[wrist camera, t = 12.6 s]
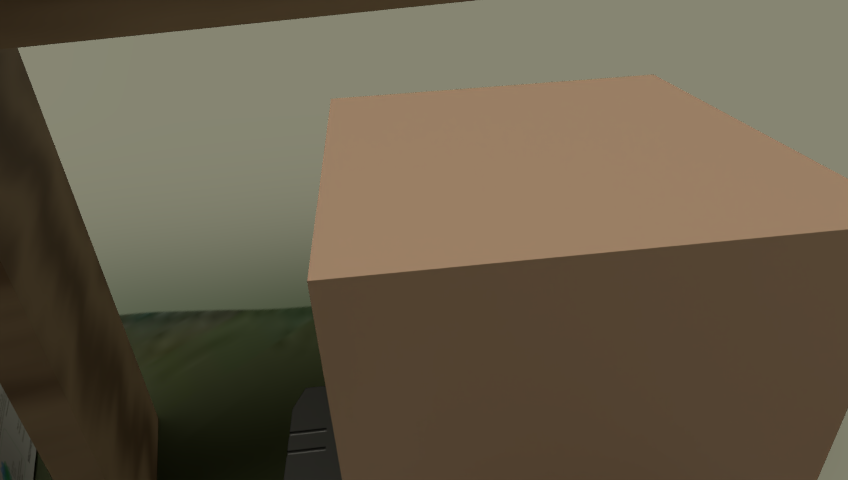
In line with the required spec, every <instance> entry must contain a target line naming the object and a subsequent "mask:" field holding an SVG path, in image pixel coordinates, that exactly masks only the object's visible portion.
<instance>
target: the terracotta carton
mask: <svg viewBox="0 0 848 480" xmlns="http://www.w3.org/2000/svg"><path fill="white" fill-rule="evenodd" d="M307 283H308V288H309V294H310V300H311V305H312V311H313V317H314V323H315V328H316V334H317V340H318V345H319V351H320V357H321V362H322V368H323V374H324V380H325V385H326V391H327V397H328V402H329V408H330V414H331V420H332V425H333V431H334V437H335V442H336V448H337V454H338V459H339V465H340V471H341V477H342V480H817V479H818V477H819V474H820V472H821V469H822V467H823V465H824V463H825V460H826V458H827V455H828V453H829V451H830V449H831V446H832V444H833V441H834V439H835V437H836V435H837V432H838V430H839V428H840V425H841V423H842V420H843V418H844V416H845V413H846V411H847V409H848V179H847V178H845V177H843V176H842V175H840V174H838V173H836V172H834V171H832V170H830V169H828V168H827V167H825V166H823V165H821V164H819V163H817V162H815V161H814V160H812V159H810V158H808V157H806V156H804V155H802V154H801V153H799V152H797V151H795V150H793V149H791V148H789V147H787V146H786V145H784V144H782V143H780V142H778V141H776V140H774V139H773V138H771V137H769V136H767V135H765V134H763V133H761V132H759V131H758V130H756V129H754V128H752V127H750V126H748V125H746V124H744V123H742V122H741V121H739V120H737V119H735V118H733V117H732V116H730V115H728V114H726V113H724V112H722V111H720V110H718V109H717V108H715V107H713V106H711V105H709V104H707V103H705V102H704V101H702V100H700V99H698V98H696V97H694V96H692V95H690V94H689V93H687V92H685V91H683V90H681V89H679V88H677V87H676V86H674V85H672V84H670V83H668V82H666V81H664V80H662V79H661V78H659V77H657V76H655V75H642V76H628V77H615V78H601V79H588V80H575V81H562V82H549V83H535V84H522V85H508V86H495V87H483V88H470V89H455V90H442V91H429V92H415V93H403V94H390V95H376V96H363V97H349V98H337V99H331V104H330V111H329V119H328V126H327V134H326V141H325V149H324V157H323V164H322V172H321V180H320V188H319V195H318V203H317V211H316V219H315V226H314V233H313V241H312V249H311V256H310V264H309V271H308V279H307Z"/></svg>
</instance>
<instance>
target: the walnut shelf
mask: <svg viewBox="0 0 848 480" xmlns="http://www.w3.org/2000/svg"><path fill="white" fill-rule="evenodd" d="M464 1H474V0H0V384H1V386H2V388H3V389H4V391H5V393H6V395H7V397H8V399H9V400H10V402H11V404H12V406H13V408H14V409H15V411H16V413H17V415H18V417H19V419H20V420H21V422H22V424H23V426H24V428H25V430H26V431H27V433H28V435H29V437H30V439H31V440H32V442H33V444H34V446H35V448H36V450H37V451H38V453H39V455H40V457H41V459H42V461H43V462H44V464H45V466H46V468H47V470H48V472H49V473H50V475H51V477H52V479H53V480H157V454H158V416H157V414H156V411H155V408H154V406H153V403H152V400H151V398H150V395H149V393H148V390H147V387H146V385H145V382H144V379H143V377H142V374H141V371H140V369H139V366H138V364H137V361H136V358H135V356H134V353H133V350H132V348H131V345H130V343H129V340H128V337H127V335H126V332H125V329H124V327H123V324H122V322H121V319H120V316H119V314H118V311H117V308H116V306H115V303H114V301H113V298H112V295H111V293H110V290H109V287H108V285H107V282H106V279H105V277H104V274H103V272H102V269H101V266H100V264H99V261H98V259H97V256H96V253H95V251H94V248H93V245H92V243H91V240H90V237H89V235H88V232H87V230H86V227H85V224H84V222H83V219H82V216H81V214H80V211H79V209H78V206H77V203H76V201H75V198H74V195H73V193H72V190H71V187H70V185H69V182H68V180H67V177H66V174H65V172H64V169H63V167H62V164H61V161H60V159H59V156H58V154H57V151H56V148H55V145H54V143H53V140H52V138H51V135H50V132H49V130H48V127H47V125H46V122H45V119H44V117H43V114H42V111H41V109H40V106H39V103H38V101H37V98H36V95H35V93H34V90H33V88H32V85H31V82H30V80H29V77H28V74H27V72H26V69H25V67H24V64H23V62H22V59H21V56H20V53H19V51H18V48H19V47H28V46H37V45H47V44H57V43H65V42H77V41H86V40H96V39H106V38H115V37H125V36H135V35H144V34H154V33H164V32H173V31H183V30H193V29H202V28H212V27H221V26H231V25H241V24H251V23H261V22H270V21H280V20H289V19H299V18H309V17H318V16H328V15H338V14H348V13H357V12H367V11H375V10H376V11H377V10H386V9H395V8H405V7H416V6H425V5H434V4H445V3H454V2H464Z"/></svg>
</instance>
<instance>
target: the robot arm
mask: <svg viewBox="0 0 848 480" xmlns="http://www.w3.org/2000/svg"><path fill="white" fill-rule="evenodd" d="M287 452H288V456H287V458H286V466H285V474H284V480H342V477H341V471H340V465H339V459H338V454H337V448H336V442H335V437H334V431H333V425H332V420H331V414H330V408H329V402H328V397H327V391H326V386H321V387H311V388H306V389H305V390H304V392H303V393H302V395H301V397H300V398H299V400H298V401H297V403H296V404H295V406H294V408H293V410H292V418H291V426H290V436H289V442H288V450H287Z"/></svg>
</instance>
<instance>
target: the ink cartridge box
mask: <svg viewBox="0 0 848 480" xmlns="http://www.w3.org/2000/svg"><path fill="white" fill-rule="evenodd" d="M35 458H36V448H35V446H34V444H33V442H32V440H31V439H30V437H29V435H28V433H27V431H26V430H25V428H24V426H23V424H22V422H21V420H20V419H19V417H18V415H17V413H16V411H15V409H14V408H13V406H12V404H11V402H10V400H9V399H8V397H7V395H6V393H5V391H4V389H3V388H2V386H1V384H0V480H33V477H34V467H35Z"/></svg>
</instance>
